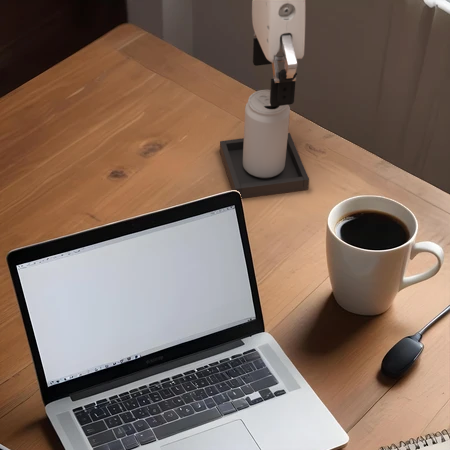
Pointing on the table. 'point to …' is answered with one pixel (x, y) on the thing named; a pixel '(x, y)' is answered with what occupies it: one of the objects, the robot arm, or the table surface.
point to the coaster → (253, 186)
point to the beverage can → (265, 136)
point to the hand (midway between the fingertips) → (272, 83)
